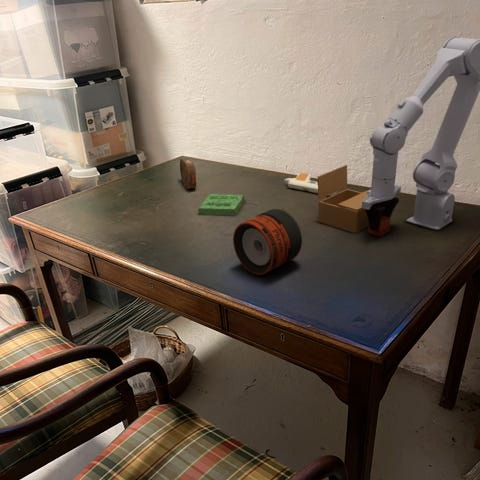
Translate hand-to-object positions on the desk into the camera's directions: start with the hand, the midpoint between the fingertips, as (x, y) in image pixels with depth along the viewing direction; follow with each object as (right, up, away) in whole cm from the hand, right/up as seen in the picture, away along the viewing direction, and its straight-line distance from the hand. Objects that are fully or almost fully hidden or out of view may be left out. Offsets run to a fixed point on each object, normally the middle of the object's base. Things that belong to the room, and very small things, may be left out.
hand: (378, 227), depth 135 cm
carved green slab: (-42, +10, +23) cm, 49 cm away
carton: (-6, +4, +9) cm, 11 cm away
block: (0, -1, +1) cm, 1 cm away
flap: (-11, +14, +7) cm, 19 cm away
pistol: (-12, +19, +33) cm, 40 cm away
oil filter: (-29, -11, -11) cm, 33 cm away
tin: (-54, +22, +42) cm, 72 cm away
